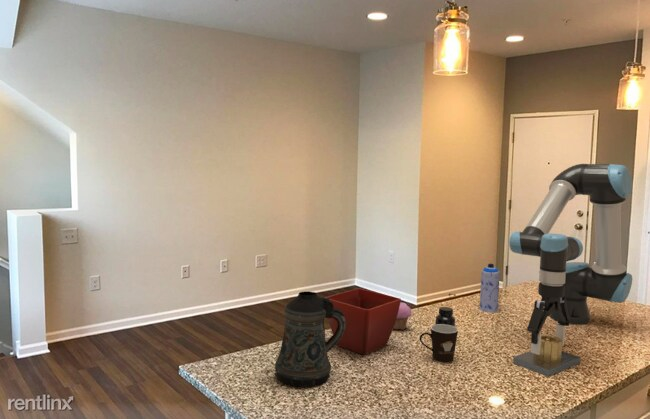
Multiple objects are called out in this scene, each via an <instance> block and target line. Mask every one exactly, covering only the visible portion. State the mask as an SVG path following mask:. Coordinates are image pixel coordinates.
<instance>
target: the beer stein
mask: <svg viewBox="0 0 650 419" xmlns="http://www.w3.org/2000/svg"><path fill="white" fill-rule="evenodd" d="M283 311H284V315H285V322H284V323H285V324H284V328H283V336H282V340H281V346H280V349H279V353H278V357H277V359H276V361H275V364H274V369H275V374H276V379H277V382H278V383H280V384H283V385H285V386H286V387H291V388H295V389H306V388H307V389H308V388H309V389H311V388H315V387H318V386H322V385H323V384H326V383H327V382H328V380H329V378H330V374H331V370H332V365H331V361H330V360H329V357H328V352H330V351H331V350H333V348H334V347H335V346H336V345H337V343H338V341H339V340H340V339H341V337H342V335H343V333H344V331H345V325H346V323H345V318H344V314H343V312H342V311H340V310H339V309H338V308H333V303H332V302H331V300H330V299H328V298H325V297H321V296H319V295H318V293H317V292H315V291H300V292H299V293H298V295H297V296H296V297H294V299H292V300H291V301H289V302H288V303H287V304H286V305H285V306H284V309H283ZM328 318H334V319H336V321H337V323H338V327H337V329H336V331H335V333H334V334H333V333H332V335H331V336H330V337H329V339H328V340H327V341H326V332H325V330H326V329H325V319H328Z"/></svg>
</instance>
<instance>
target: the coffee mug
mask: <svg viewBox="0 0 650 419" xmlns="http://www.w3.org/2000/svg"><path fill="white" fill-rule="evenodd" d="M430 332H431V333H430ZM430 332H423V333H421V334H420V335H419V342H420V343H421V344H422V345H423V346H424V347H425V348H427V349H429V351H431V352H432V358H433V360H434V361H436V362H440V363H451V362H454V356H455V352H456V345H457V340H458V334H459V329H458V327H456V326H455V327H454V326H451V325H445V324H437V325H435V324H433V325H431V326H430ZM425 335H427V336H429V337H430V340H431V347H430V346H428V345H427V344H425V343H424V342H423V341H422V338H423V336H425Z"/></svg>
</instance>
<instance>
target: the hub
mask: <svg viewBox="0 0 650 419" xmlns="http://www.w3.org/2000/svg"><path fill="white" fill-rule="evenodd" d="M540 334H541V345H540V354H539V355H538V354H535V353H534V357H535V358H537V359H539V360H542V361H547V362H558V361H561V352H562V351H563V346H562V339H560V338H559V337H556V336H555V335H553V334H545V333H543V334H542V333H540Z"/></svg>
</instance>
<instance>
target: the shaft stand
mask: <svg viewBox="0 0 650 419" xmlns="http://www.w3.org/2000/svg"><path fill="white" fill-rule="evenodd" d="M512 363H513V364H514V365H518V366H520V367H522V368H525V369H527V370H528V369H529V370H530V371H533V372H536V373H538V374H541V375H543V376H546V377H551V376H553V375H555V374H558V373H560V372H562V371H563V372H564V371H565V370H567V369H570V368H572V367H575V366H577V365H579V364H581V356H578V355H574V354H573V353H572V354H571V353H570V352H565V351H564V350H562V352H561V361H558V362H547V361H542V360H539V359H537V358H535V357H534V353H532V352H531V350H529V351H525V352H524V353H520V354H518V355H515V356H513V362H512Z"/></svg>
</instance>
